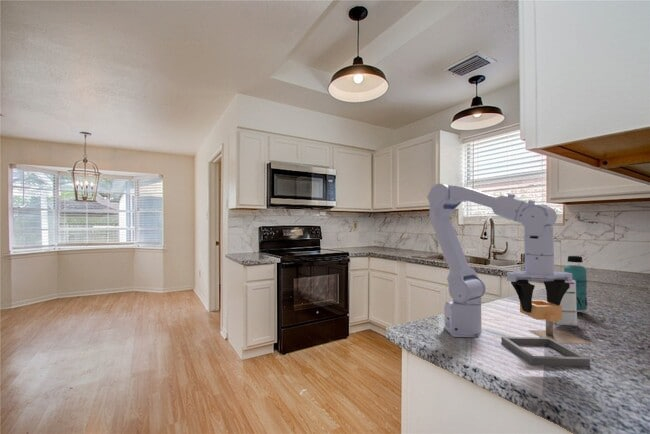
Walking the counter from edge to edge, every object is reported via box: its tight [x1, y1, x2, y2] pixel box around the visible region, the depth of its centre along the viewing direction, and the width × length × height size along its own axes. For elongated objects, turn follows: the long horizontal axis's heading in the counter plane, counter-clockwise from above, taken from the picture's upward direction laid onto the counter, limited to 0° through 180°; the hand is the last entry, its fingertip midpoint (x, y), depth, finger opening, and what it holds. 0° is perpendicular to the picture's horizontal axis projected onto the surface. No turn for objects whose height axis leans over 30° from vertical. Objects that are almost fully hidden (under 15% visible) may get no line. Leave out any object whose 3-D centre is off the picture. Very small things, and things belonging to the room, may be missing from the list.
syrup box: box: [545, 280, 578, 326], centre depth 92 cm, size 6×6×14 cm
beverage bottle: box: [563, 255, 588, 311], centre depth 106 cm, size 6×7×20 cm
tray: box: [501, 336, 591, 371], centre depth 70 cm, size 12×12×2 cm
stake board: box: [528, 320, 592, 345], centre depth 80 cm, size 10×9×6 cm
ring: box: [519, 299, 562, 322], centre depth 70 cm, size 7×6×3 cm
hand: (539, 311), depth 71 cm, fingers closed on ring, 6 cm apart
